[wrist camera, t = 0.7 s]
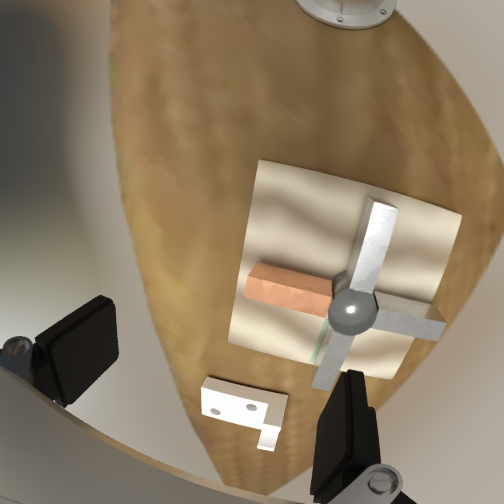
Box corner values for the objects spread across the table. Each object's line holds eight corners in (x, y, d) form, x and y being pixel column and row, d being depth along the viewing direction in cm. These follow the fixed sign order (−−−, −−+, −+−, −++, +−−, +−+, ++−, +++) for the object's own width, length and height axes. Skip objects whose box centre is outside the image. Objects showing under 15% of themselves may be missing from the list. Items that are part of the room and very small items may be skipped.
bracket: (288, 391, 42) (281, 427, 35) (281, 417, 44) (273, 451, 37) (209, 372, 44) (191, 404, 37) (208, 400, 46) (193, 430, 39)
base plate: (261, 159, 32) (258, 159, 30) (456, 213, 28) (462, 216, 26) (230, 336, 40) (227, 342, 38) (390, 372, 36) (391, 380, 35)
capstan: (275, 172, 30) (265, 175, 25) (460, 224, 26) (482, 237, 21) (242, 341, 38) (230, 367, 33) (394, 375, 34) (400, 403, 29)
